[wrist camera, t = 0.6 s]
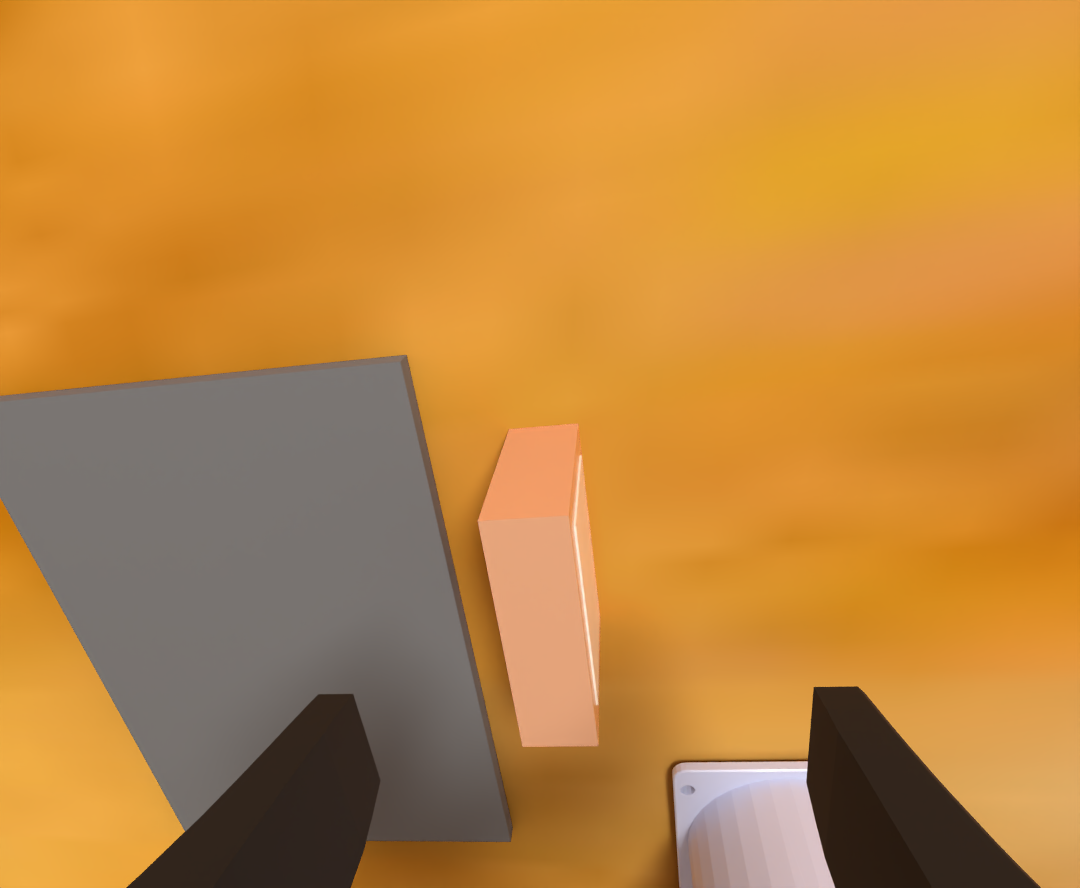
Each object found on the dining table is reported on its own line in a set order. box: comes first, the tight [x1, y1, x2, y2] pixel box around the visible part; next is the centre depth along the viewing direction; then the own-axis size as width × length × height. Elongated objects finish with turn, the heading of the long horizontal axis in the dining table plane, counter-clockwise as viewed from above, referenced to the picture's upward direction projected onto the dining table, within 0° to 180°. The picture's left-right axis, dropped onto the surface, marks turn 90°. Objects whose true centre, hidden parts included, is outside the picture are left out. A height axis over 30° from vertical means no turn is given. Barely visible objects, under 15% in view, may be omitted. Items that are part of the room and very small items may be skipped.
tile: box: [478, 424, 600, 747], centre depth 17 cm, size 7×2×5 cm, turn 7°
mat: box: [0, 355, 513, 842], centre depth 22 cm, size 20×14×1 cm
